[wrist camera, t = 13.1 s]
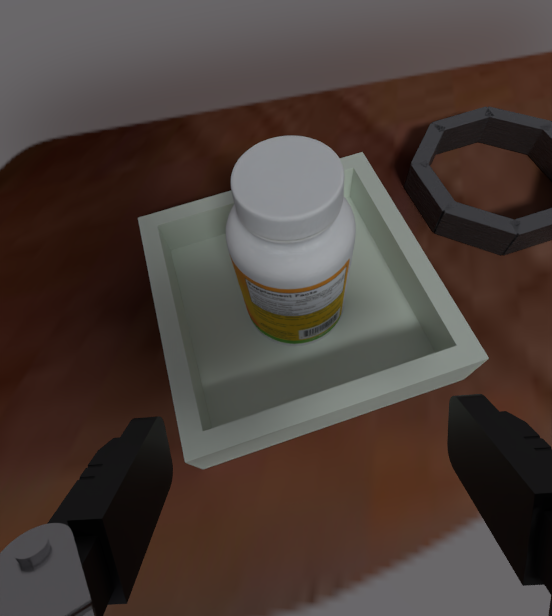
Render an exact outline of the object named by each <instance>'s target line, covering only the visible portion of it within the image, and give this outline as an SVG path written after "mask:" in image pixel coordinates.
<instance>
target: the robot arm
mask: <svg viewBox="0 0 552 616" xmlns="http://www.w3.org/2000/svg"><path fill="white" fill-rule="evenodd" d="M448 454H449V458H450V462H451V464H452V467H453V469H454V471H455V472H456V474H457V476H458V477H459V479H460V481H461V482H462V484H463V486H464V487H465V489H466V491H467V492H468V494H469V496H470V498H471V499H472V501H473V503H474V504H475V506H476V508H477V509H478V511H479V513H480V514H481V516H482V518H483V519H484V521H485V523H486V524H487V526H488V528H489V529H490V531H491V533H492V534H493V536H494V538H495V540H496V541H497V543H498V545H499V546H500V548H501V550H502V551H503V553H504V555H505V556H506V558H507V560H508V561H509V563H510V565H511V566H512V568H513V570H514V571H515V573H516V575H517V576H518V578H519V580H520V581H521V583H522V585H523V586H524V585H542V584H544V585H545V586H546V588H547V589H548V590H549V592H550V594H551V601H550V608H549V616H552V449H551V446H549V445H548V444H547V443H546V442H545V441H544V440H543V439H540V436H539V435H538V434H537V433H536V432H535V431H534V430H533V429H532V428H531V427H530V426H529V425H528V424H527V423H526V422H525V421H523V420H521V419H519V418H517V417H516V416H514V415H512V414H510V413H508V412H507V411H503V412H499V411H498V410H497V409H496V408H495V407H494V406H493V405H492V404H491V402H490V401H489V400H488V399H487V398H486V397H485V396H484V395H482V394H474V395H461V396H452V397H451V399H450V402H449V421H448ZM172 476H173V465H172V459H171V454H170V449H169V444H168V440H167V435H166V430H165V425H164V422H163V419H162V418H161V417H147V418H134V419H132V420H131V421H130V423H129V425H128V426H127V428H126V429H125V431H124V432H123V434H122V435H121V437H120V438H113V439H112V440H111V441H109V442H108V443H107V444H106V445H104V446H103V447H102V448H101V449H100V450H98V451H97V453H96V454H95V456H94V457H93V459H92V460H91V462H90V463H89V464H88V468H86V469H85V470H84V472H83V473H82V474H81V476H80V480H77V482H76V483H75V485H74V486H73V487H72V489H71V490H70V492H69V493H68V495H67V496H66V498H65V499H64V500H63V502H62V503H61V505H60V506H59V508H58V509H57V511H56V512H55V513H54V515H53V516H52V518H51V519H50V521H49V522H48V524H45V525H41V526H38V527H36V528H33V529H31V530H29V531H27V532H25V533H24V534H22V535H20V536H19V537H17V538H16V539H15V540H13V541H12V542H11V543H10V544H9V545H8V546H7V547H6V548H5V549H4V550H3V551H2V552H1V553H0V616H103V614H104V612H105V610H106V607H107V605H110V604H127V602H128V599H129V596H130V594H131V591H132V588H133V586H134V583H135V580H136V578H137V575H138V572H139V569H140V567H141V564H142V561H143V559H144V556H145V553H146V551H147V548H148V545H149V543H150V540H151V537H152V535H153V532H154V529H155V527H156V524H157V521H158V519H159V516H160V513H161V510H162V508H163V505H164V502H165V500H166V497H167V494H168V492H169V489H170V486H171V482H172Z"/></svg>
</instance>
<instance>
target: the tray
mask: <svg viewBox="0 0 552 616" xmlns="http://www.w3.org/2000/svg"><path fill="white" fill-rule="evenodd" d="M340 160H341V163H342V165H343V169H344V175H345V179H344V197H345V198H346V200H347V201H348V203H349V204H350V206H351V209H352V211H353V214H354V218H355V223H356V234H355V243H354V249H353V255H352V261H351V267H350V273H349V279H348V285H347V291H346V297H345V304H344V309H343V313H342V316H341V318H340V320H339V322H338V324H337V325H336V327H335V328H334V329H333V330H332V331H331V332H330V333H329V334H328V335H327V336H325V337H324V338H322V339H321V340H319V341H316V342H314V343H311V344H307V345H302V346H287V345H282V344H279V343H276V342H274V341H272V340H270V339H268V338H267V337H265V336H264V335H263V334H261V333H260V332H259V331H258V330H257V328H256V327H255V326H254V324H253V323H252V321H251V318H250V316H249V314H248V311H247V308H246V305H245V302H244V298H243V295H242V292H241V289H240V286H239V283H238V279H237V276H236V273H235V270H234V267H233V264H232V260H231V257H230V254H229V251H228V246H227V242H226V223H227V219H228V215H229V213H230V211H231V209H232V207H233V205H234V204H235V203H234V199H233V195H232V190H231V191H228V192H224V193H221V194H217V195H214V196H211V197H207V198H204V199H200V200H197V201H193V202H190V203H187V204H183V205H180V206H176V207H173V208H170V209H166V210H163V211H159V212H156V213H153V214H149V215H146V216H142V217H139V218H138V222H139V227H140V232H141V237H142V243H143V248H144V253H145V258H146V263H147V268H148V274H149V279H150V284H151V289H152V294H153V299H154V305H155V310H156V315H157V320H158V325H159V331H160V336H161V341H162V346H163V351H164V356H165V362H166V367H167V372H168V377H169V382H170V388H171V393H172V398H173V403H174V408H175V413H176V419H177V424H178V429H179V434H180V439H181V444H182V450H183V455H184V460H185V463H187V464H190V465H193V466H196V467H198V468H201V469H206V468H209V467H212V466H215V465H217V464H220V463H223V462H226V461H229V460H232V459H235V458H238V457H241V456H243V455H246V454H249V453H252V452H255V451H258V450H261V449H264V448H267V447H270V446H272V445H275V444H278V443H281V442H284V441H287V440H290V439H293V438H296V437H298V436H301V435H304V434H307V433H310V432H313V431H316V430H319V429H322V428H325V427H327V426H330V425H333V424H336V423H339V422H342V421H345V420H348V419H351V418H353V417H356V416H359V415H362V414H365V413H368V412H371V411H374V410H377V409H379V408H382V407H385V406H388V405H391V404H394V403H397V402H400V401H403V400H406V399H408V398H411V397H414V396H417V395H420V394H423V393H426V392H429V391H432V390H434V389H437V388H440V387H443V386H446V385H449V384H452V383H455V382H458V381H461V380H463V379H465V378H466V377H467V376H468V375H470V374H471V373H472V372H473V371H474V370H476V369H477V368H478V367H479V366H480V365H482V364H483V363H484V362H485V361H486V360H488V359H489V358H488V356H487V354H486V353H485V351H484V350H483V348H482V346H481V345H480V343H479V341H478V340H477V338H476V336H475V335H474V333H473V332H472V330H471V328H470V327H469V325H468V323H467V322H466V320H465V319H464V317H463V315H462V314H461V312H460V310H459V309H458V307H457V305H456V304H455V302H454V301H453V299H452V297H451V296H450V294H449V292H448V291H447V289H446V288H445V286H444V284H443V283H442V281H441V279H440V278H439V276H438V274H437V273H436V271H435V270H434V268H433V266H432V265H431V263H430V261H429V260H428V258H427V257H426V255H425V253H424V252H423V250H422V248H421V247H420V245H419V243H418V242H417V240H416V239H415V237H414V235H413V234H412V232H411V230H410V229H409V227H408V226H407V224H406V222H405V221H404V219H403V217H402V216H401V214H400V212H399V211H398V209H397V208H396V206H395V204H394V203H393V201H392V199H391V198H390V196H389V195H388V193H387V191H386V190H385V188H384V186H383V185H382V183H381V181H380V180H379V178H378V177H377V175H376V173H375V172H374V170H373V168H372V167H371V165H370V164H369V162H368V160H367V159H366V157H365V155H364V154H363V152H361V153H357V154H354V155H351V156H347V157H344V158H340Z"/></svg>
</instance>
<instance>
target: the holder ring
mask: <svg viewBox="0 0 552 616" xmlns="http://www.w3.org/2000/svg"><path fill="white" fill-rule="evenodd" d="M477 142H480V143H484V144H488V145H492V146H496V147H500V148H504V149H508V150H512V151H515V152H519V153H523V154H527V155H528V156H529V157H530V158H531V159H532V160H533V161H534V162H535V163H536V164H537V166H538V167H539V168H540V169H541V170H542V171H543V172H544V173H545V174H546V176H547V177H548V178H549V179H550V180H551V181H552V121H549V120H544V119H540V118H536V117H531V116H527V115H523V114H519V113H514V112H510V111H506V110H501V109H497V108H493V107H488V108H487V107H483V108H480V109H476V110H473V111H469V112H466V113H462V114H459V115H456V116H452V117H449V118H445V119H442V120H438V121H435V122H432V124H430V126H429V128H428V130H427V132H426V134H425V136H424V138H423V140H422V142H421V144H420V146H419V148H418V150H417V152H416V154H415V156H414V158H413V160H412V162H411V165H410V168H409V172H408V175H407V178H406V182H405V185H404V188H405V190H406V191H407V193H408V194H409V196H410V198H411V199H412V201H413V202H414V204H415V205H416V207H417V208H418V210H419V211H420V213H421V215H422V216H423V218H424V219H425V221H426V222H427V224H428V225H429V227H430V229H431V230H432V232H435V234H437V235H440V236H444V237H447V238H450V239H453V240H456V241H459V242H462V243H465V244H468V245H471V246H474V247H477V248H480V249H483V250H486V251H489V252H492V253H495V254H498V255H502V254H503V255H506V254H509V253H513V252H516V251H519V250H522V249H525V248H528V247H531V246H534V245H537V244H540V243H544V242H547V241H550V240H552V208H550V209H547V210H544V211H540V212H537V213H534V214H531V215H528V216H525V217H521V218H518V219H515V220H514V219H510V218H507V217H504V216H500V215H497V214H494V213H491V212H487V211H484V210H481V209H477V208H474V207H471V206H467V205H464V204H461V203H458V202H455V201H454V199H453V198H452V197H451V195H450V194H449V192H448V191H447V190H446V188H445V187H444V185H443V184H442V183H441V181H440V180H439V178H438V177H437V176H436V174H435V173H434V171H433V170H432V168H431V167H430V165H431V163H432V161H433V159H434V157H435V155H436V154H440V153H443V152H446V151H450V150H453V149H456V148H460V147H463V146H466V145H470V144H473V143H477Z"/></svg>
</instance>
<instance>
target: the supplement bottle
mask: <svg viewBox="0 0 552 616" xmlns="http://www.w3.org/2000/svg"><path fill="white" fill-rule="evenodd" d="M344 179H345V175H344V169H343V165H342V163H341V160H340V159H339V157H338V156H337V154H336V153H335V152H334V151H333V150H332V149H331V148H330V147H328V146H327V145H325V144H323V143H322V142H320V141H317V140H315V139H311V138H308V137H303V136H280V137H275V138H271V139H268V140H265V141H262V142H260V143H258V144H256V145H254V146H253V147H251V148H250V149H248V150H247V151H246V152H245V153H244V154H243V155H242V156H241V157H240V158H239V159H238V161H237V162H236V164H235V166H234V168H233V171H232V175H231V190H232V195H233V199H234V203H235V204H234V205H233V207H232V209H231V211H230V213H229V215H228V219H227V223H226V242H227V246H228V251H229V254H230V257H231V260H232V264H233V267H234V270H235V273H236V276H237V279H238V283H239V286H240V289H241V292H242V295H243V298H244V302H245V305H246V308H247V311H248V314H249V316H250V318H251V321H252V323H253V324H254V326H255V327H256V328H257V330H258V331H259V332H260V333H261V334H263V335H264V336H265V337H267V338H268V339H270V340H272V341H274V342H276V343H279V344H282V345H287V346H302V345H307V344H311V343H314V342H316V341H319V340H321V339H322V338H324V337H325V336H327V335H328V334H329V333H330V332H331V331H332V330H333V329H334V328H335V327H336V325H337V324H338V322H339V320H340V318H341V316H342V313H343V309H344V304H345V297H346V291H347V285H348V279H349V273H350V267H351V261H352V255H353V249H354V243H355V234H356V223H355V218H354V214H353V211H352V209H351V206H350V204H349V203H348V201H347V200H346V198H345V197H344Z"/></svg>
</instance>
